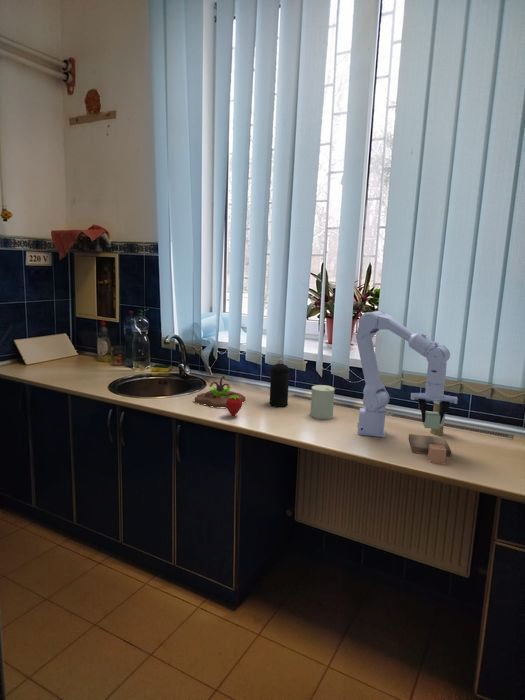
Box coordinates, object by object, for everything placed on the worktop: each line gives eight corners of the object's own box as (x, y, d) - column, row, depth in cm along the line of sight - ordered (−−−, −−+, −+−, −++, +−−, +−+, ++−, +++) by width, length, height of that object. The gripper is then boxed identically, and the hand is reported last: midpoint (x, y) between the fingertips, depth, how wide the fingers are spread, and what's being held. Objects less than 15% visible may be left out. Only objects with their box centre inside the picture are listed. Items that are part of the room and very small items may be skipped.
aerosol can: (287, 408, 198) (289, 361, 195) (267, 406, 200) (269, 360, 196) (289, 402, 206) (291, 357, 203) (270, 401, 208) (272, 356, 204)
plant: (252, 401, 208) (253, 376, 206) (225, 411, 192) (225, 384, 190) (217, 392, 219) (217, 369, 217) (188, 402, 203) (188, 376, 201)
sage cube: (424, 427, 158) (426, 414, 157) (423, 423, 162) (424, 410, 162) (438, 429, 157) (440, 416, 156) (436, 424, 161) (438, 412, 161)
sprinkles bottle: (428, 430, 178) (431, 396, 175) (439, 430, 178) (443, 396, 176) (433, 435, 173) (437, 399, 171) (445, 435, 174) (449, 399, 171)
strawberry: (245, 415, 187) (246, 390, 186) (235, 420, 181) (236, 395, 179) (232, 412, 190) (232, 388, 188) (222, 417, 183) (223, 392, 182)
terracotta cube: (429, 462, 149) (431, 448, 148) (427, 456, 154) (429, 443, 153) (444, 464, 148) (446, 450, 147) (442, 458, 153) (444, 445, 152)
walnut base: (411, 452, 157) (412, 446, 156) (408, 439, 168) (408, 433, 168) (450, 456, 154) (451, 450, 154) (444, 443, 166) (444, 437, 165)
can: (321, 421, 184) (323, 391, 182) (305, 414, 191) (306, 385, 189) (337, 416, 190) (339, 387, 188) (321, 410, 197) (322, 382, 195)
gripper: (413, 383, 155) (409, 423, 157) (461, 387, 152) (456, 428, 154) (411, 378, 161) (407, 417, 164) (456, 382, 159) (452, 421, 161)
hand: (431, 422), depth 160 cm, fingers closed on sage cube, 4 cm apart
